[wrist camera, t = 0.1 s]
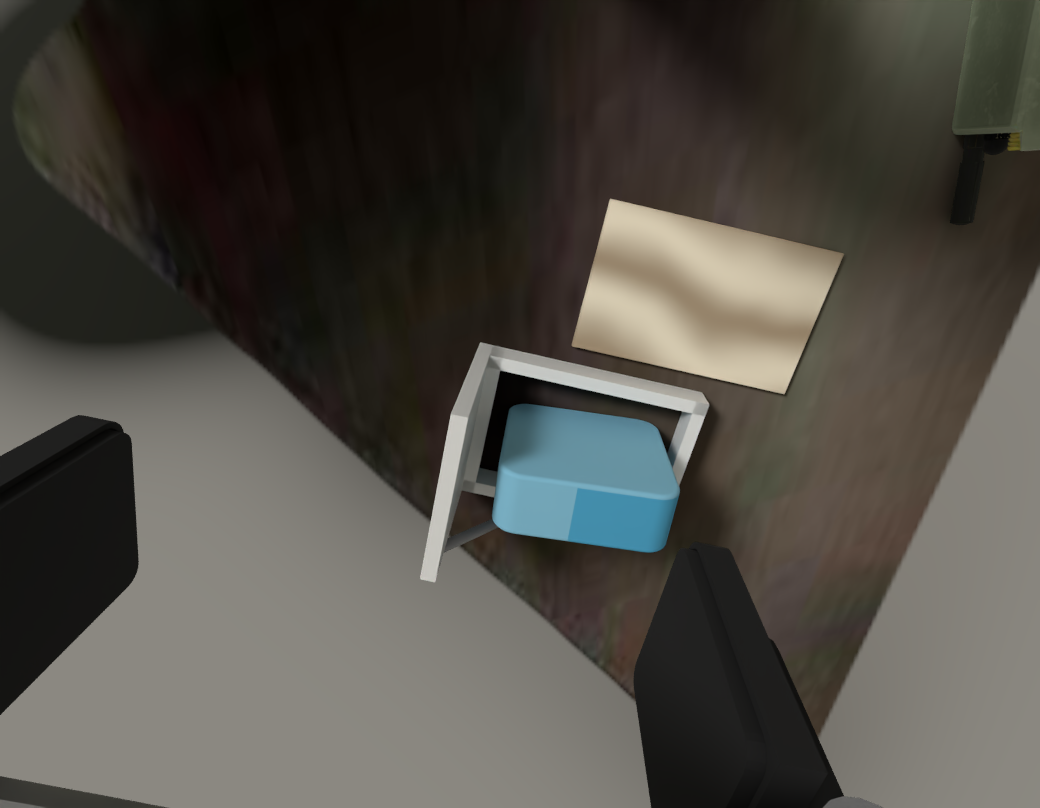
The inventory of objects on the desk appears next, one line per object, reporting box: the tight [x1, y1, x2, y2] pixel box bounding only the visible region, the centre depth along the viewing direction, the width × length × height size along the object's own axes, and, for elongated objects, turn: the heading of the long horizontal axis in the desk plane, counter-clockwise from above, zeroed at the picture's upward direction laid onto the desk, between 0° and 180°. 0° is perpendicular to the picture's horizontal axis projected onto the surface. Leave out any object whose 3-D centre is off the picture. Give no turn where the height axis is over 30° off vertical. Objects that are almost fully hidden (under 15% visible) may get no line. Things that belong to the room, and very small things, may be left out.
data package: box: [492, 404, 680, 553], centre depth 44 cm, size 12×4×12 cm, turn 83°
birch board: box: [572, 199, 844, 394], centre depth 44 cm, size 11×17×1 cm, turn 78°
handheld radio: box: [950, 0, 1040, 225], centre depth 34 cm, size 7×3×25 cm
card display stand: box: [420, 342, 709, 582], centre depth 43 cm, size 13×18×14 cm
